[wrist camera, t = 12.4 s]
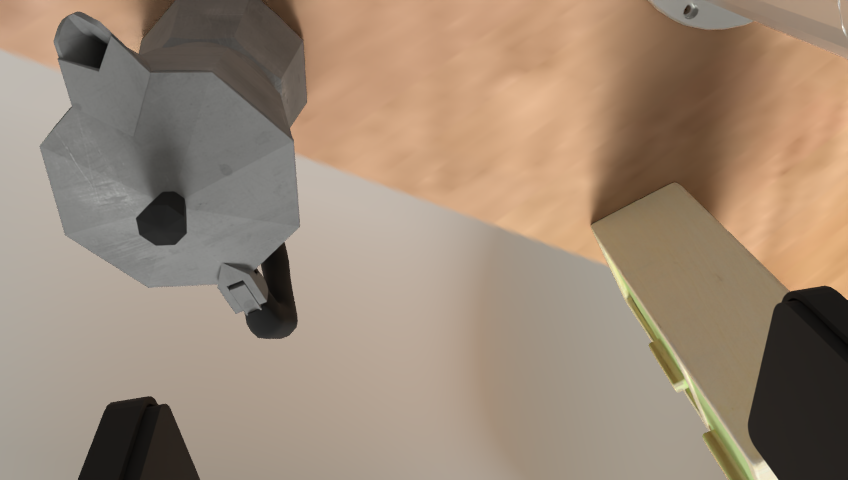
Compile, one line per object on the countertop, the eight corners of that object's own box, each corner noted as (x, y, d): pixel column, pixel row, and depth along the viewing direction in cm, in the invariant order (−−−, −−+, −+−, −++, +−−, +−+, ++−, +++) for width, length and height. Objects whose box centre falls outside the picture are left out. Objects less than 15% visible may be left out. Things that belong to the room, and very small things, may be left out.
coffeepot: (81, -11, 34) (-118, 107, 19) (246, -84, 33) (179, -24, 18) (231, 224, 42) (177, 441, 27) (366, 169, 41) (391, 360, 26)
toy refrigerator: (576, 227, 46) (739, 474, 28) (675, 177, 44) (910, 399, 27) (614, 305, 50) (776, 563, 32) (705, 260, 48) (926, 502, 31)
